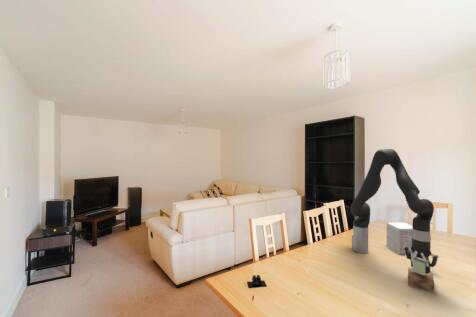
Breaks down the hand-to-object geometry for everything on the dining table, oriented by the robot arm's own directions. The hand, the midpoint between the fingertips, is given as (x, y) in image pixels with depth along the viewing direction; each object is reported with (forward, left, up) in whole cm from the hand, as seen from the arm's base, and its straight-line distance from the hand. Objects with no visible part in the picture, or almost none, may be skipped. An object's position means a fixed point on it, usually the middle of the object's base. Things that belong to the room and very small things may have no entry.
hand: (420, 270), depth 115 cm
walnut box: (0, 0, -7) cm, 7 cm away
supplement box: (-23, +36, -7) cm, 43 cm away
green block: (0, 0, -1) cm, 1 cm away
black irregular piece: (-45, -72, -8) cm, 85 cm away
